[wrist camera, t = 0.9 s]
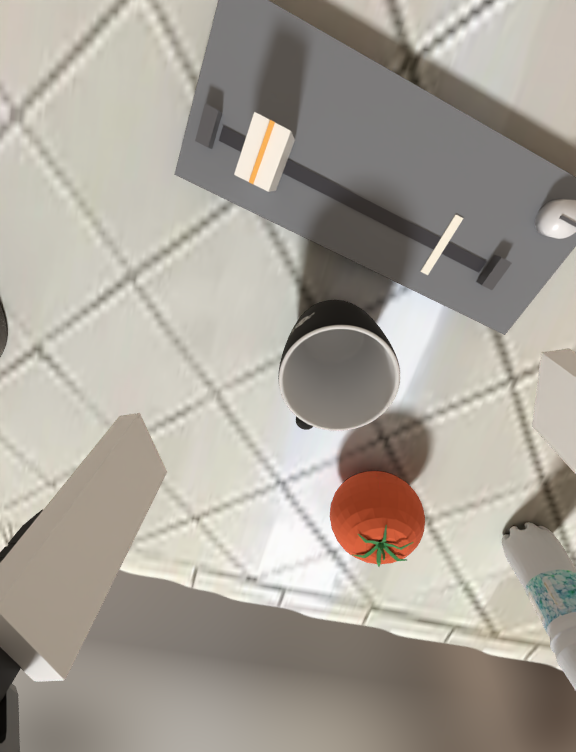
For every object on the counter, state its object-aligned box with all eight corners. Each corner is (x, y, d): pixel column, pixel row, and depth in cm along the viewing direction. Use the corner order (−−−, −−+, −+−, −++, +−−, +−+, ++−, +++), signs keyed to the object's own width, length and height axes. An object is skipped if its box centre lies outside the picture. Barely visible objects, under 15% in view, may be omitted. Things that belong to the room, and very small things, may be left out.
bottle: (484, 535, 47) (586, 745, 29) (531, 508, 44) (673, 721, 27) (516, 558, 49) (629, 771, 31) (562, 534, 46) (716, 751, 28)
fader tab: (246, 176, 28) (233, 174, 23) (264, 124, 26) (253, 111, 21) (275, 190, 28) (267, 191, 23) (294, 140, 26) (290, 130, 22)
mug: (309, 271, 33) (307, 304, 24) (396, 309, 34) (425, 354, 25) (263, 377, 38) (247, 436, 29) (340, 407, 40) (347, 472, 31)
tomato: (314, 468, 44) (314, 540, 35) (396, 441, 41) (418, 511, 32) (347, 523, 48) (354, 599, 39) (424, 501, 45) (450, 578, 36)
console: (182, 174, 30) (166, 173, 27) (231, -10, 25) (218, -40, 21) (495, 327, 34) (514, 342, 31) (595, 198, 29) (631, 199, 26)
